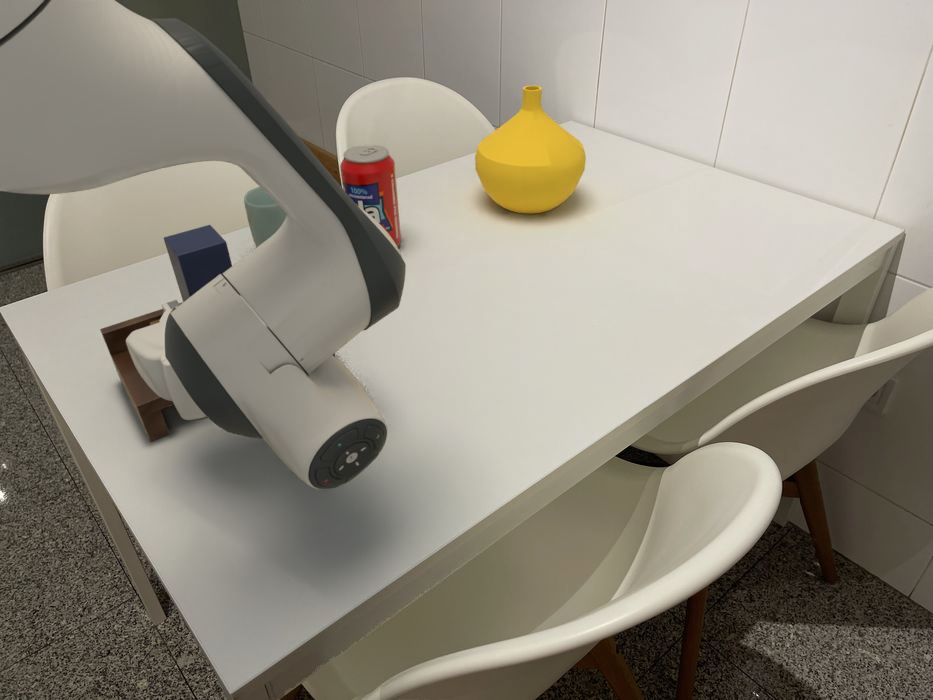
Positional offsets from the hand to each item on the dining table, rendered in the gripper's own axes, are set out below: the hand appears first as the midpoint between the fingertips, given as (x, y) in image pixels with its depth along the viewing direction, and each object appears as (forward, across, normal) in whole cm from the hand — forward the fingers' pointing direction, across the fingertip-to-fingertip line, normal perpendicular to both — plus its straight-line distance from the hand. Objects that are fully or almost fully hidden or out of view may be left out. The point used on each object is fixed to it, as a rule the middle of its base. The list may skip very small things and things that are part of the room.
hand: (216, 292), depth 72 cm
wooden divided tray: (+4, 0, +14) cm, 14 cm away
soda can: (+22, -30, +14) cm, 40 cm away
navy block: (+4, 0, +9) cm, 10 cm away
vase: (+20, -59, +14) cm, 64 cm away
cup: (+28, -17, +14) cm, 36 cm away
